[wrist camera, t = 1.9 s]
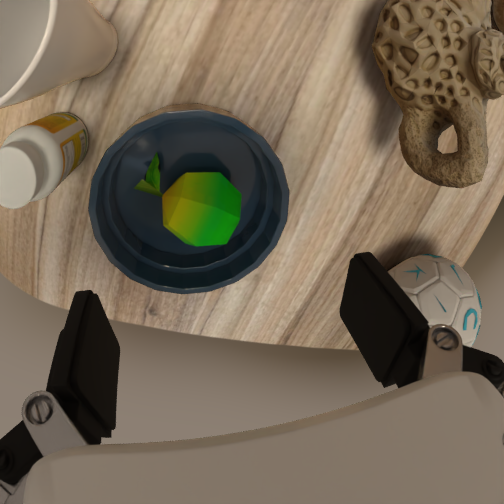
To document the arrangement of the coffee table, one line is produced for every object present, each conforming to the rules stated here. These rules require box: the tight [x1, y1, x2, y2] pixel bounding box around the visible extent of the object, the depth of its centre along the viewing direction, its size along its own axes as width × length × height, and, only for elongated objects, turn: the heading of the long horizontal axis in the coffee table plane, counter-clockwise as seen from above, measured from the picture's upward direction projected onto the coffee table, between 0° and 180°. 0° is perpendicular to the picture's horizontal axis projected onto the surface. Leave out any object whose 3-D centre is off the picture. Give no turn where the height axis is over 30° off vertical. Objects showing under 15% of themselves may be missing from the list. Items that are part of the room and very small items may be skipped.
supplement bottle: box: [0, 112, 88, 209], centre depth 17 cm, size 5×5×10 cm
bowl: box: [88, 103, 289, 294], centre depth 24 cm, size 15×15×5 cm
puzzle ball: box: [388, 254, 482, 347], centre depth 33 cm, size 15×15×15 cm
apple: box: [134, 152, 242, 246], centre depth 24 cm, size 7×6×9 cm
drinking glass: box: [0, 0, 118, 109], centre depth 11 cm, size 7×7×15 cm
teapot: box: [372, 0, 504, 188], centre depth 16 cm, size 21×12×15 cm, turn 171°
